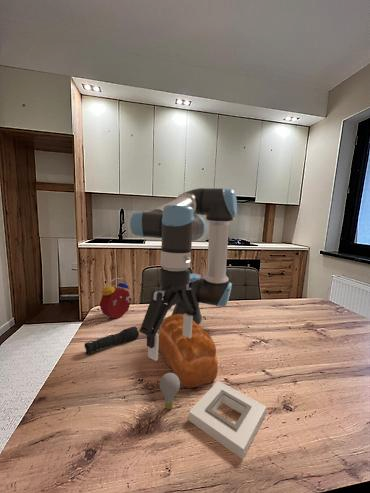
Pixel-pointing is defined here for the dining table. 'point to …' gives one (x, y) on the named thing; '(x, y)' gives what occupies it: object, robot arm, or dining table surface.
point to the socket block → (223, 429)
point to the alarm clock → (115, 300)
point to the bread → (188, 352)
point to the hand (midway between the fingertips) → (171, 346)
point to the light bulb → (169, 388)
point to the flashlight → (112, 340)
